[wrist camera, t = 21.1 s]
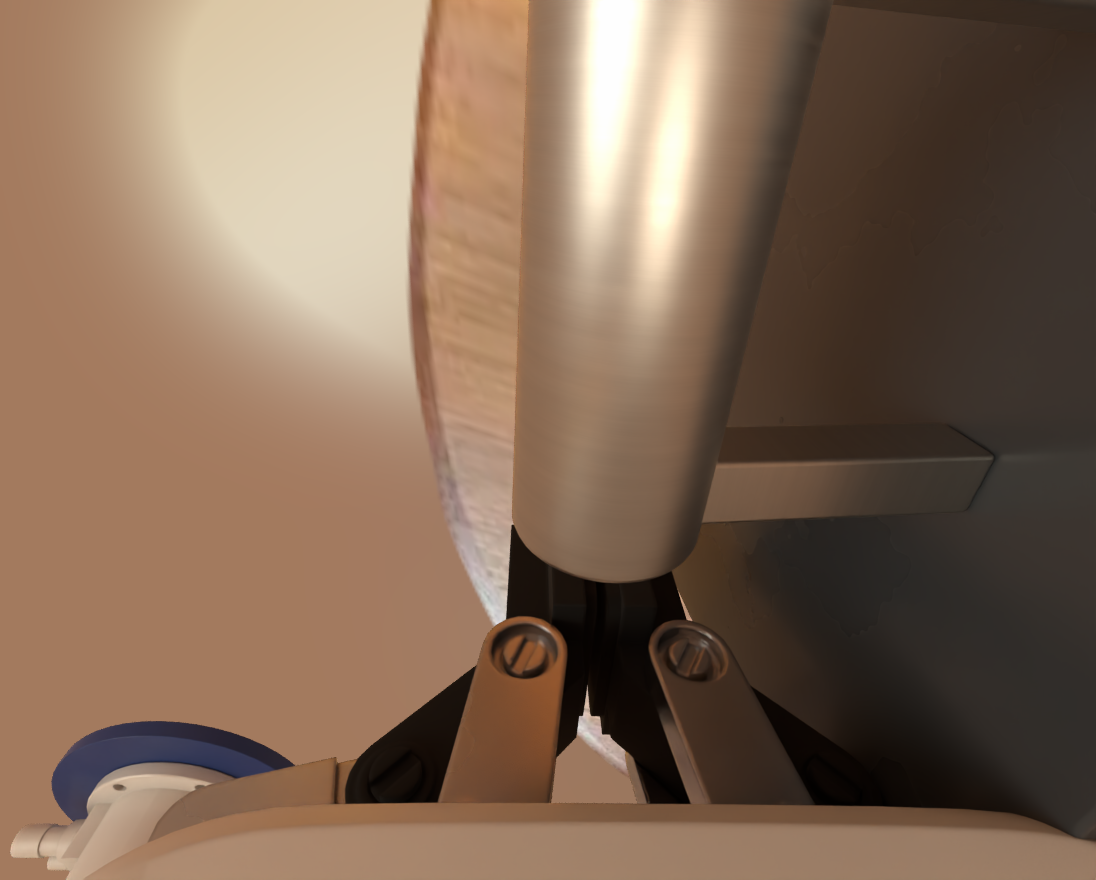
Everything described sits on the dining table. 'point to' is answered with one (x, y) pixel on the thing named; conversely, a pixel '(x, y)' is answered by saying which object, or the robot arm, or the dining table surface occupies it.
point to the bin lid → (831, 362)
